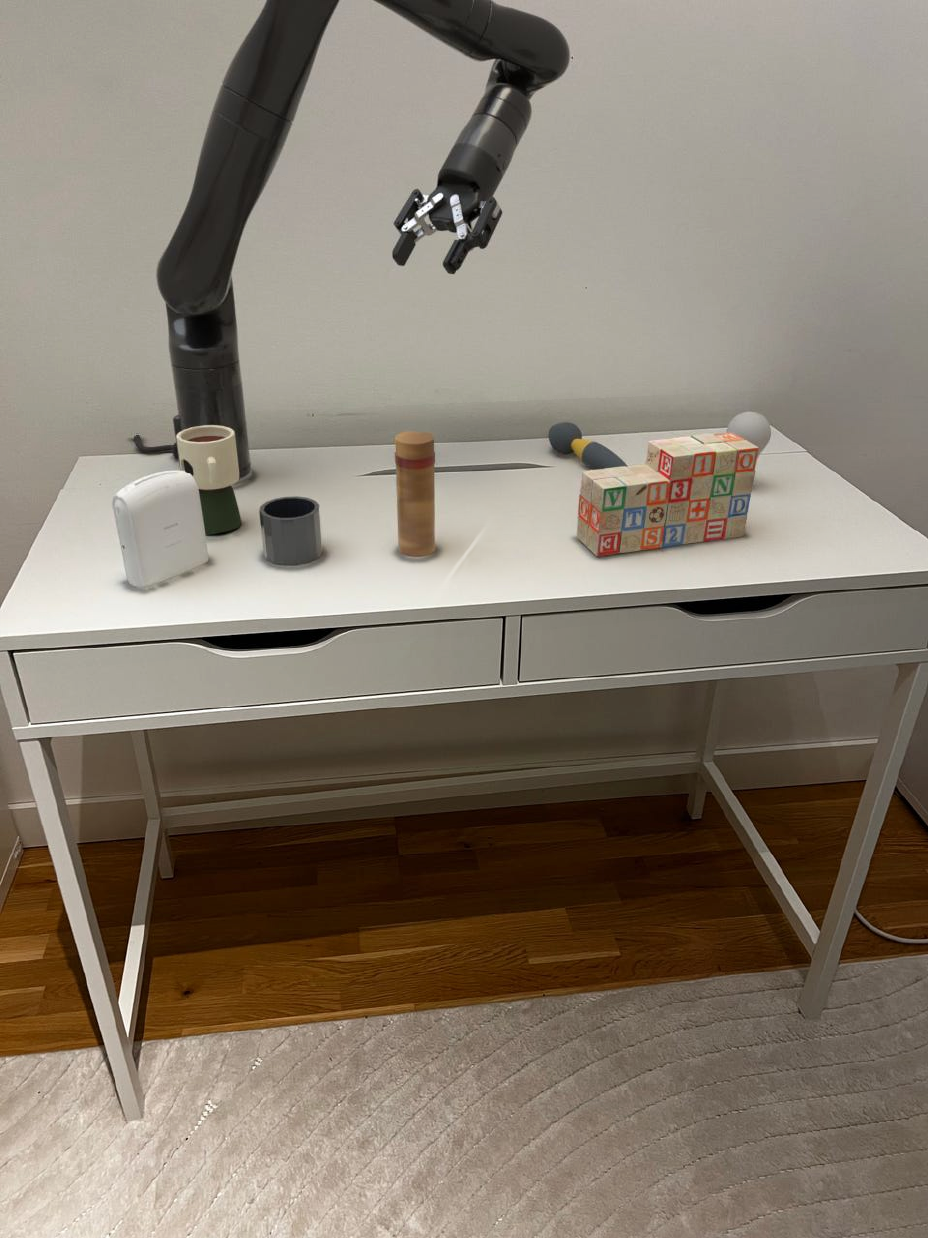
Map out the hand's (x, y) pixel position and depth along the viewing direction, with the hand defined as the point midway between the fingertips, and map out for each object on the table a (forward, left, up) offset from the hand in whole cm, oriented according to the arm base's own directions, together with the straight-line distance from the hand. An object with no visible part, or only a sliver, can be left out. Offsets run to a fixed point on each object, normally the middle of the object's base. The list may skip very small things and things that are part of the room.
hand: (422, 265), depth 125 cm
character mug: (-21, -22, -31) cm, 43 cm away
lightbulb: (+43, +16, -31) cm, 55 cm away
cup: (-8, -26, -31) cm, 41 cm away
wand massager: (+20, +18, -31) cm, 41 cm away
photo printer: (-20, -35, -31) cm, 51 cm away
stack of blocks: (+35, -6, -31) cm, 47 cm away
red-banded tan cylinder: (+6, -20, -31) cm, 37 cm away
